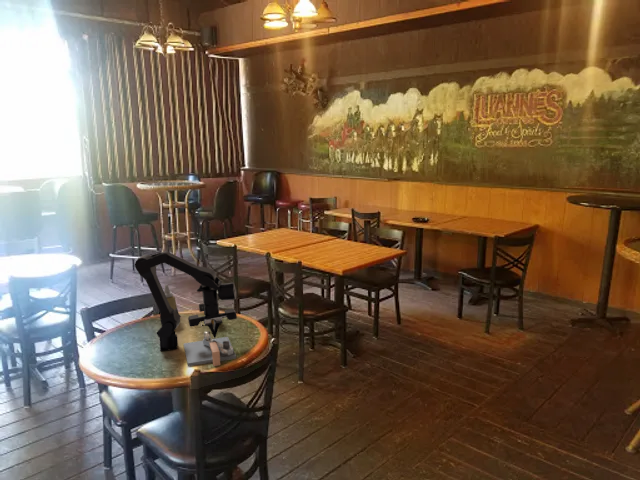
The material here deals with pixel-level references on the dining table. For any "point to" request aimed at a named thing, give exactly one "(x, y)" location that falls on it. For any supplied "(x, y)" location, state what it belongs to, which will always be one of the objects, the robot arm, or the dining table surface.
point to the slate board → (204, 352)
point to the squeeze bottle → (170, 297)
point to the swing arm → (218, 344)
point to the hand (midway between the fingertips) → (214, 337)
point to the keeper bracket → (215, 353)
